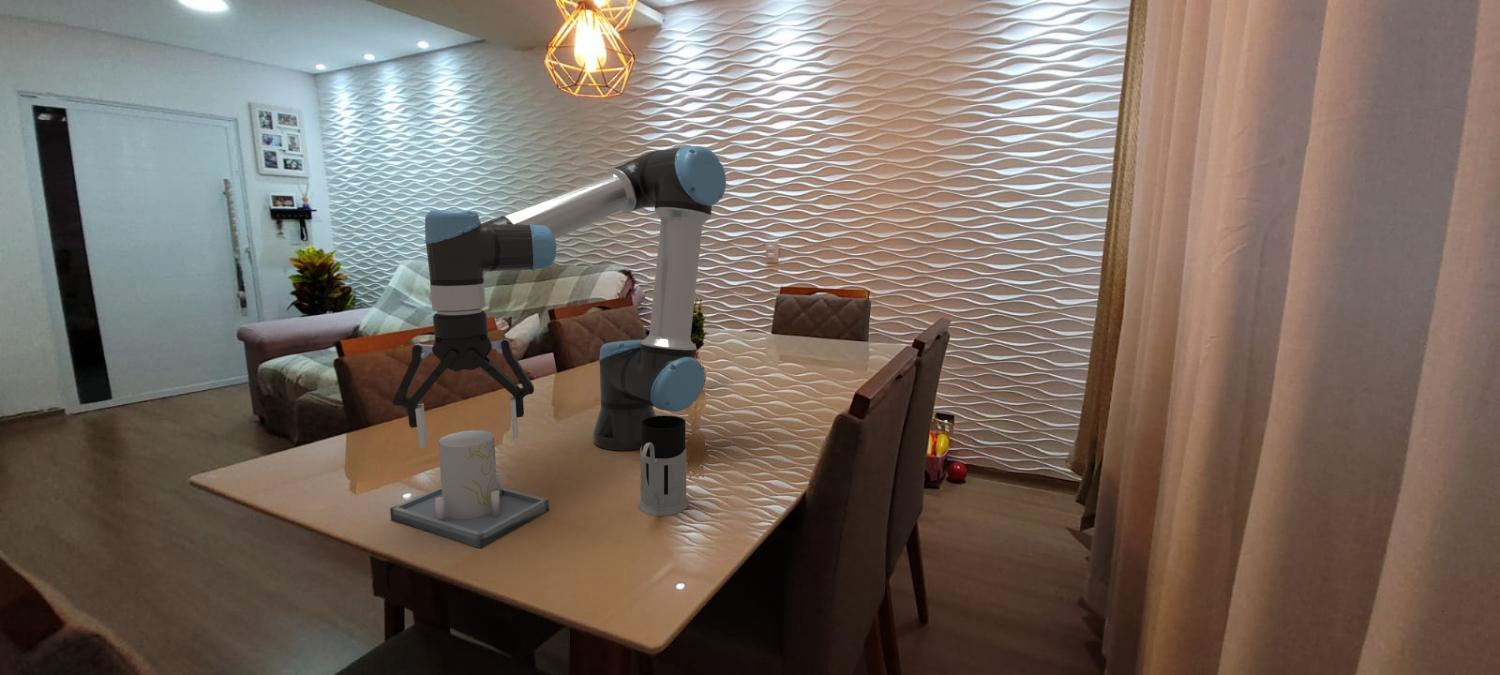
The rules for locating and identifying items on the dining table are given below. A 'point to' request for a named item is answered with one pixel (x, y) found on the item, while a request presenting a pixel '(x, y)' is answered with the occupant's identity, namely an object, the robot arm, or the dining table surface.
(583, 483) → the dining table surface
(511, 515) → the tray
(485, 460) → the cup
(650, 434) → the glass holder
